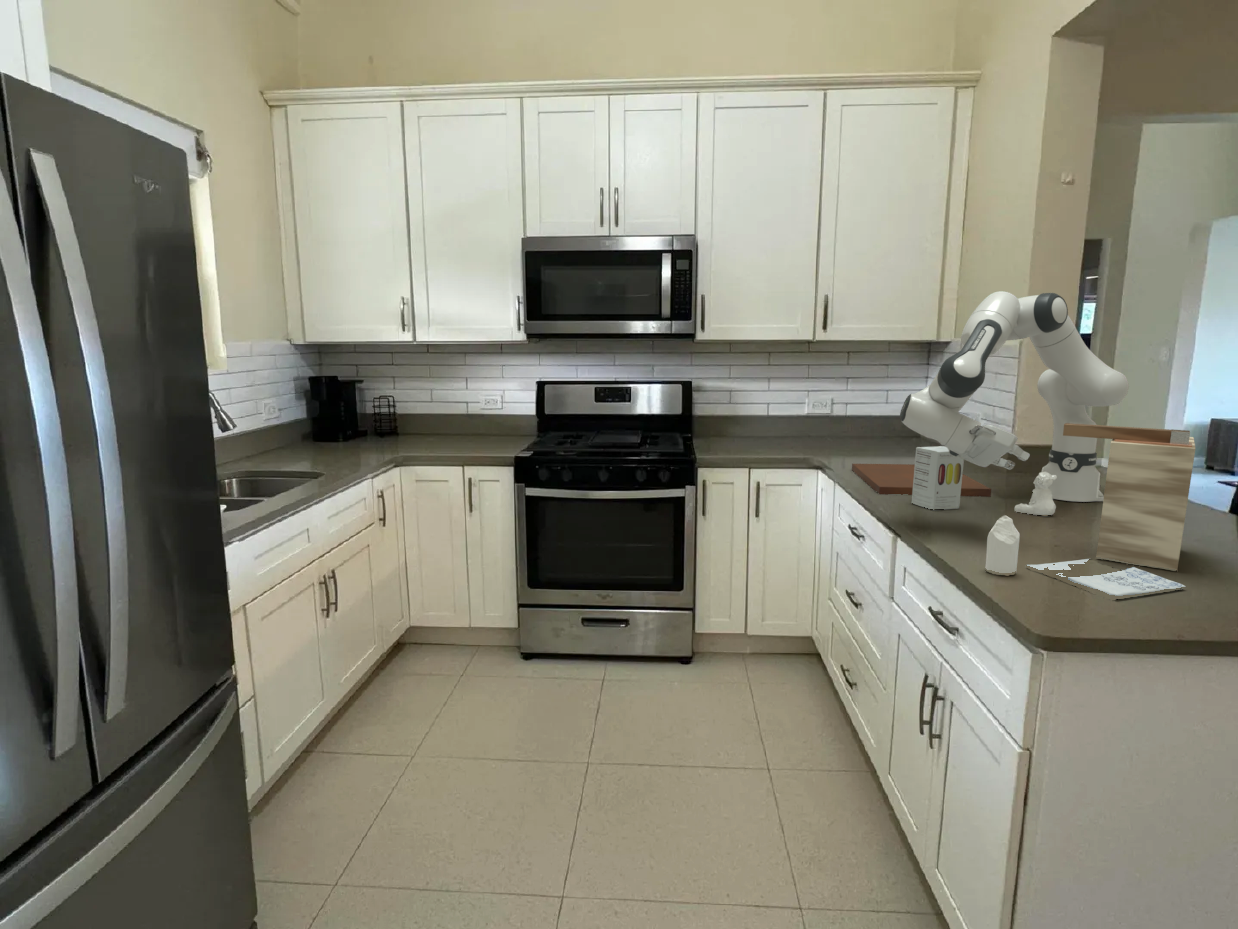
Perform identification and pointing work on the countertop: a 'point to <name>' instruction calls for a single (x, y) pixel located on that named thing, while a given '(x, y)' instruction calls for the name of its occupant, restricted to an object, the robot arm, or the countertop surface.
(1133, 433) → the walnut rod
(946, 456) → the supplement box
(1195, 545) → the countertop surface
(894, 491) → the reddish brown board
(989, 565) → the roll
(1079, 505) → the countertop surface
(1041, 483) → the white creature statuette
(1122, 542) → the birch shelf
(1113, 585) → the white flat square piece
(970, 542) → the countertop surface
